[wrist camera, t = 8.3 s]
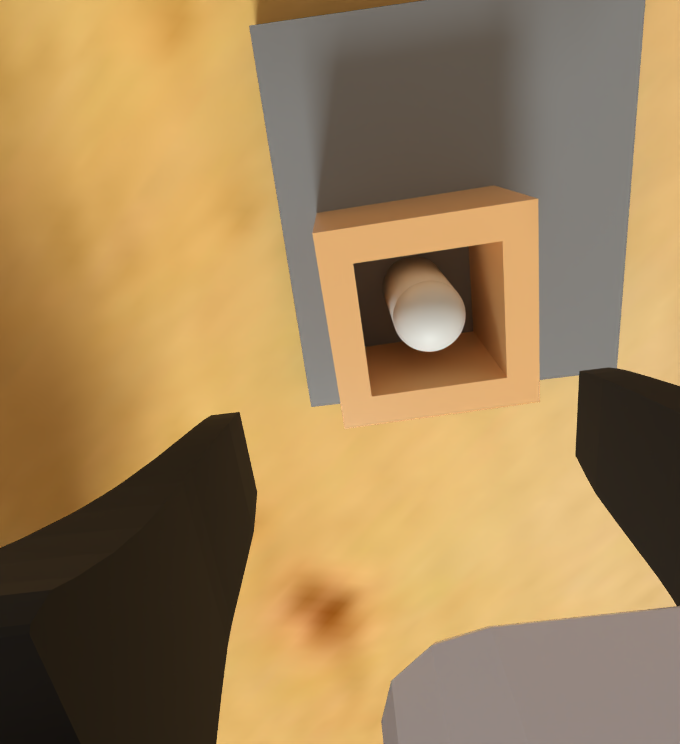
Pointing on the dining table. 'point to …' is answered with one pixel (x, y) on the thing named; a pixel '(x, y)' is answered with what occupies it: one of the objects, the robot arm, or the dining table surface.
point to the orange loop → (488, 294)
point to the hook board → (458, 157)
